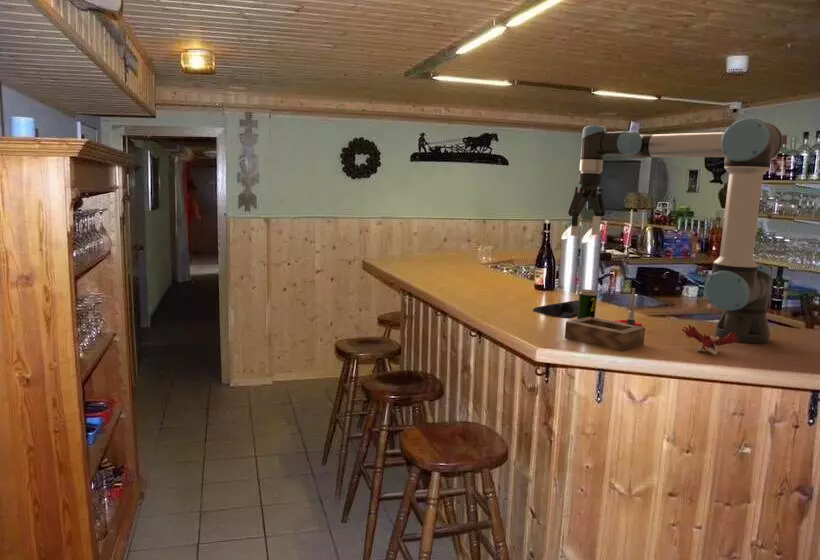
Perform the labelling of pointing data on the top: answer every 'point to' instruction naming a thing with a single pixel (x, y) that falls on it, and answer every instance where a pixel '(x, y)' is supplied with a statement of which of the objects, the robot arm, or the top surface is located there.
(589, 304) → the beer can
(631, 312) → the grey and red post
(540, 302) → the top surface
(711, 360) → the top surface
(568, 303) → the dark slate chunk
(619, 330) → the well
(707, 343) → the figurine
